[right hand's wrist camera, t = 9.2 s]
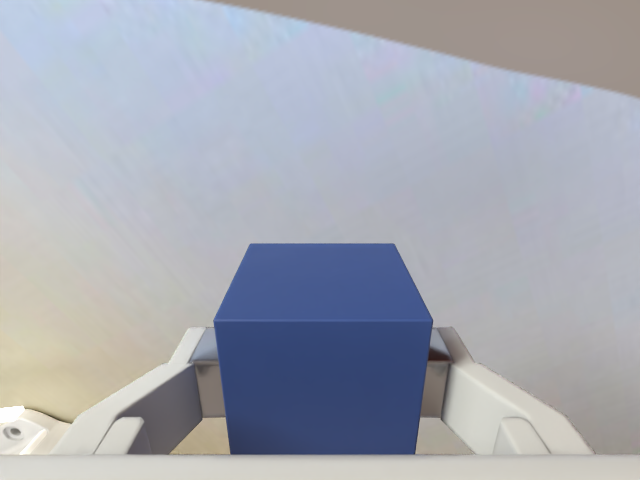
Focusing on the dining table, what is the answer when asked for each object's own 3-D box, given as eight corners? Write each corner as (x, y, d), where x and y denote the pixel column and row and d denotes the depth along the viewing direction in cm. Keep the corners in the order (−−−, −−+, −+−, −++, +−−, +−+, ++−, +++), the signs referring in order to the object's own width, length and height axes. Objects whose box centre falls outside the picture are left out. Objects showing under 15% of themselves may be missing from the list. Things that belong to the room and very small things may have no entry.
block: (384, 365, 13) (412, 479, 9) (259, 365, 13) (233, 479, 9) (394, 243, 12) (434, 320, 8) (249, 243, 12) (212, 319, 8)
